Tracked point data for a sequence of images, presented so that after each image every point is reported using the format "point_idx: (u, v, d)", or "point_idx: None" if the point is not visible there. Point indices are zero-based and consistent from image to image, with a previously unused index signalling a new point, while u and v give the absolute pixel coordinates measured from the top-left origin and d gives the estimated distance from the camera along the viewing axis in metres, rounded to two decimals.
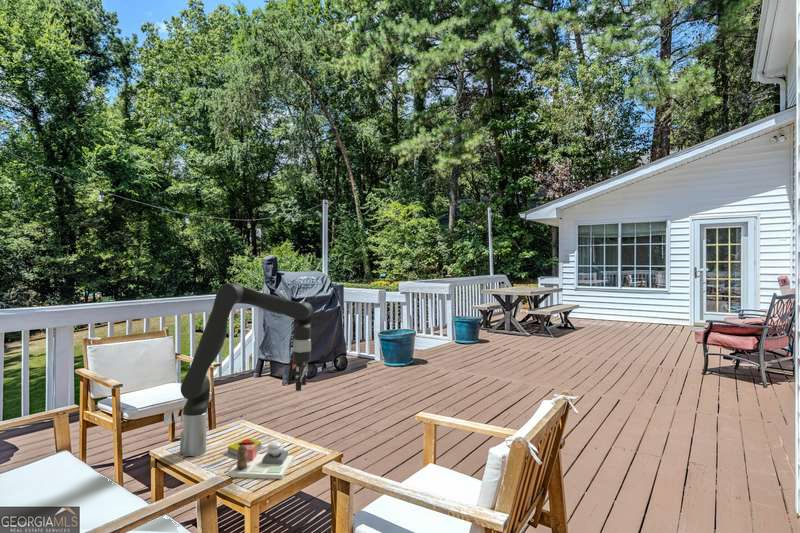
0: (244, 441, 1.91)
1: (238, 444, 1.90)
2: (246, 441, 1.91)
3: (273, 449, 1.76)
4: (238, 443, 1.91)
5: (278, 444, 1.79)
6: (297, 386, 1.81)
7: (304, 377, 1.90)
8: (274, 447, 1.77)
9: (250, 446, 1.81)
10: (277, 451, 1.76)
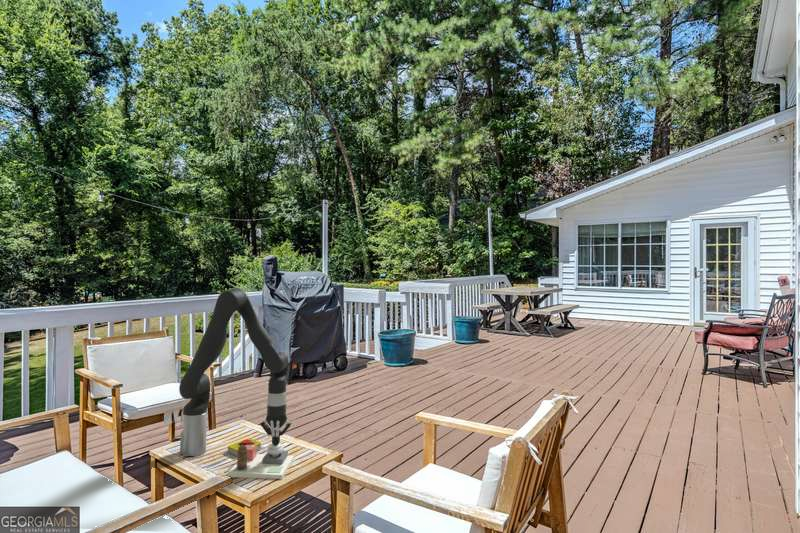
0: (244, 441, 1.90)
1: (237, 444, 1.90)
2: (246, 441, 1.91)
3: (273, 450, 1.76)
4: (238, 443, 1.91)
5: (278, 445, 1.79)
6: (279, 440, 1.79)
7: None
8: (274, 448, 1.77)
9: (250, 446, 1.81)
10: (277, 452, 1.76)
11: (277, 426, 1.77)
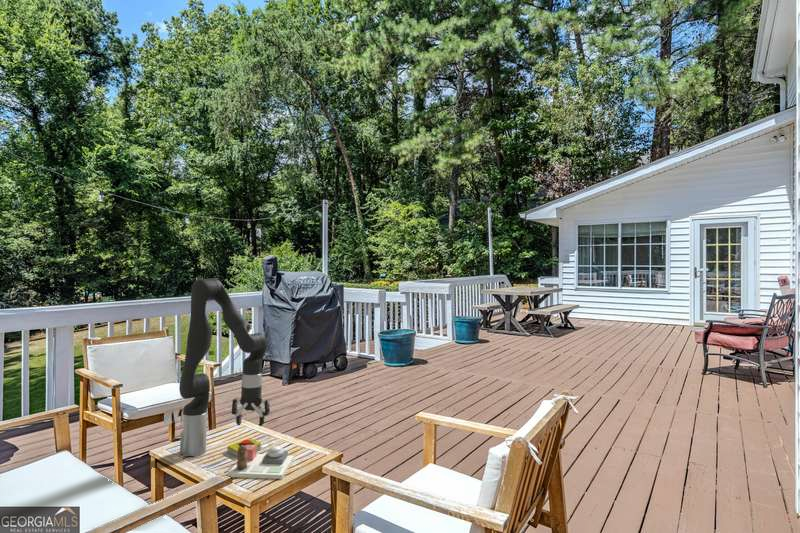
0: (244, 441, 1.90)
1: (237, 444, 1.90)
2: (246, 441, 1.90)
3: (273, 452, 1.76)
4: (238, 443, 1.91)
5: (278, 447, 1.79)
6: (263, 420, 1.73)
7: None
8: (274, 450, 1.77)
9: (250, 446, 1.81)
10: (277, 455, 1.76)
11: (255, 408, 1.71)
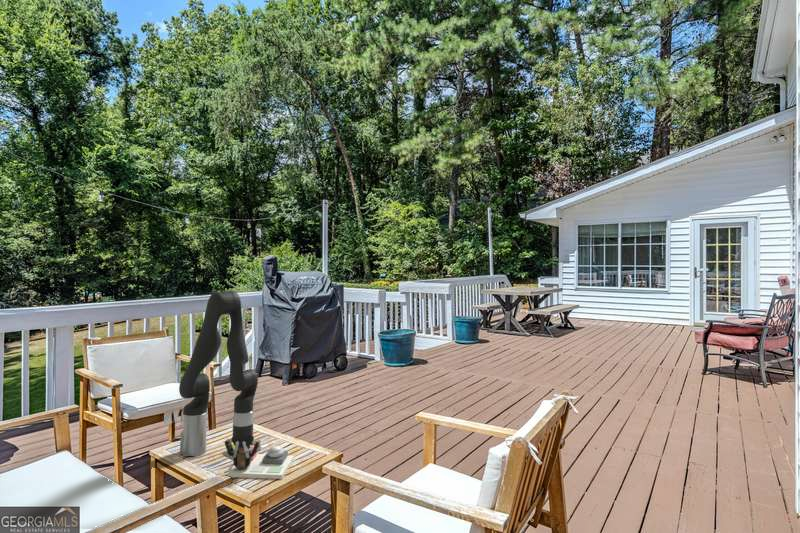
0: None
1: None
2: None
3: (273, 452, 1.76)
4: None
5: (278, 447, 1.79)
6: (249, 461, 1.71)
7: None
8: (274, 450, 1.77)
9: None
10: (277, 455, 1.76)
11: (244, 447, 1.69)
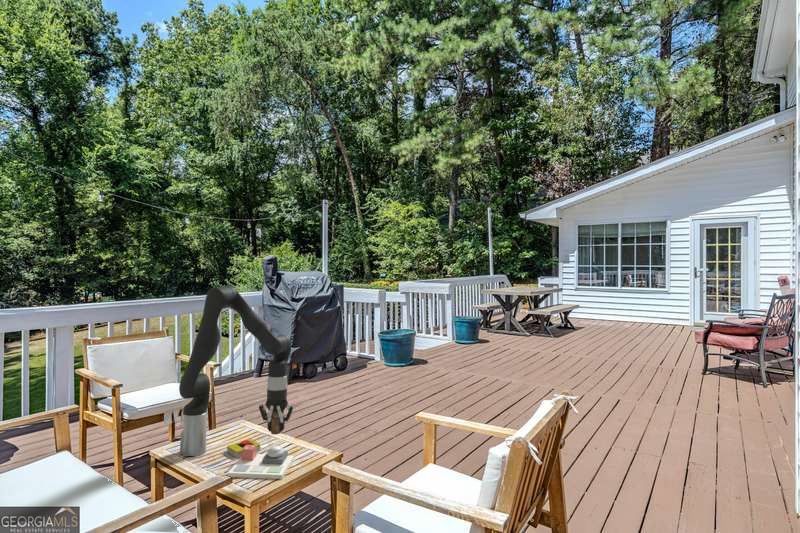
0: (243, 442, 1.90)
1: (237, 444, 1.90)
2: (245, 442, 1.90)
3: (273, 452, 1.76)
4: (238, 443, 1.91)
5: (278, 447, 1.79)
6: (283, 426, 1.70)
7: None
8: (274, 450, 1.77)
9: (250, 446, 1.81)
10: (277, 455, 1.76)
11: (279, 411, 1.69)
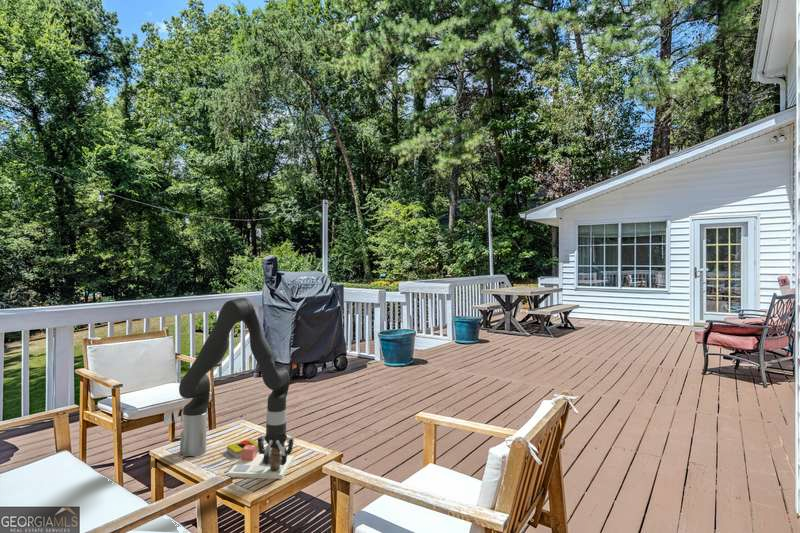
0: (243, 442, 1.90)
1: (237, 444, 1.90)
2: (245, 442, 1.90)
3: None
4: (238, 443, 1.91)
5: None
6: (285, 459, 1.70)
7: (268, 454, 1.71)
8: None
9: (250, 446, 1.81)
10: None
11: (279, 445, 1.69)
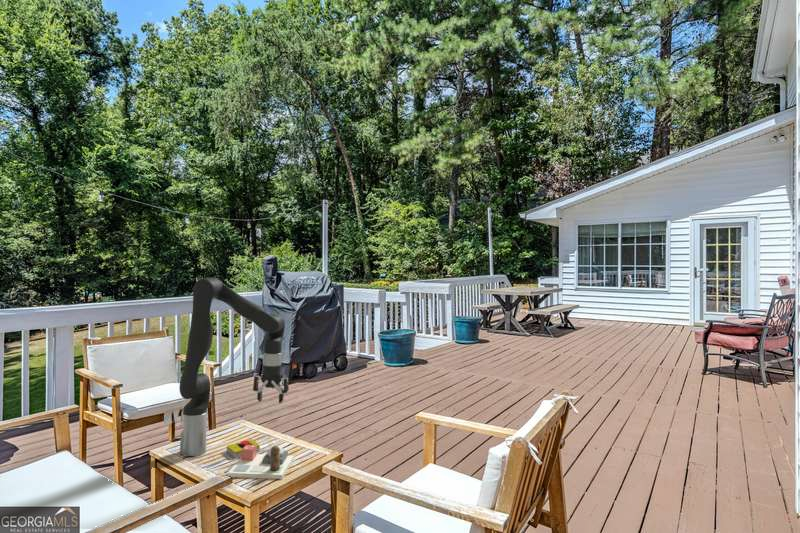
0: (242, 442, 1.90)
1: (237, 444, 1.90)
2: (244, 442, 1.89)
3: None
4: (238, 443, 1.91)
5: None
6: (282, 398, 1.83)
7: (261, 392, 1.84)
8: None
9: (250, 446, 1.81)
10: None
11: (275, 385, 1.81)
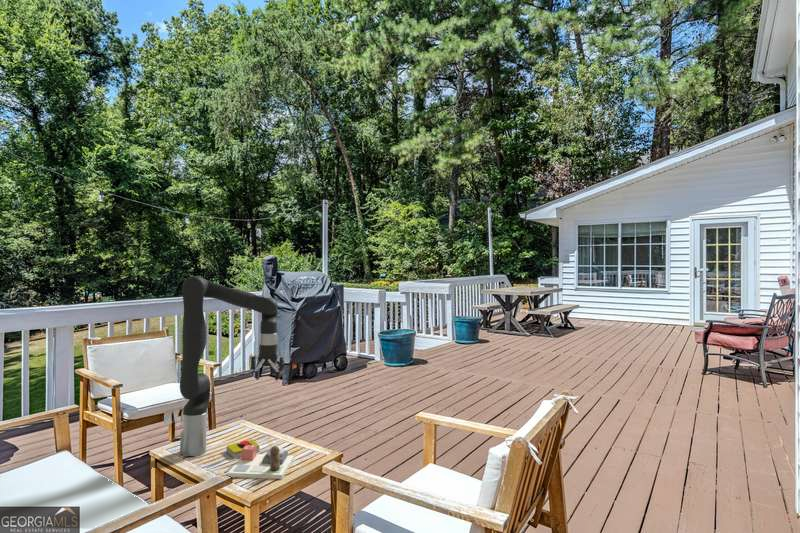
0: (242, 442, 1.89)
1: (236, 444, 1.90)
2: (244, 442, 1.89)
3: None
4: (238, 443, 1.91)
5: None
6: (279, 375, 1.94)
7: (259, 371, 1.95)
8: None
9: (250, 446, 1.81)
10: None
11: (271, 363, 1.92)
